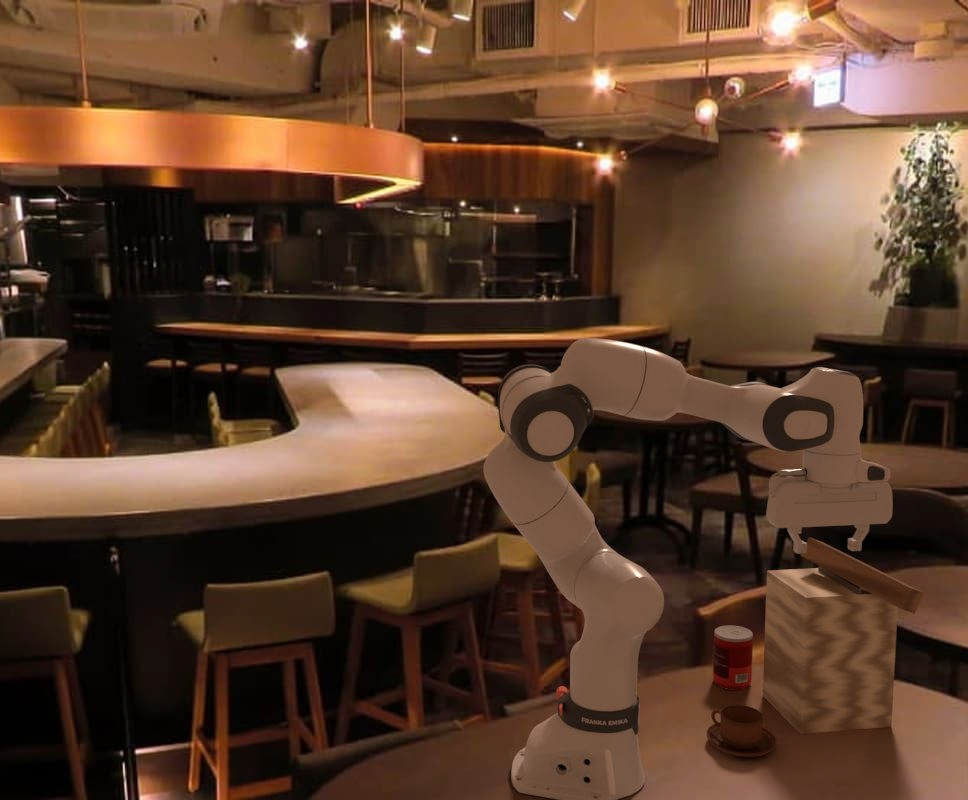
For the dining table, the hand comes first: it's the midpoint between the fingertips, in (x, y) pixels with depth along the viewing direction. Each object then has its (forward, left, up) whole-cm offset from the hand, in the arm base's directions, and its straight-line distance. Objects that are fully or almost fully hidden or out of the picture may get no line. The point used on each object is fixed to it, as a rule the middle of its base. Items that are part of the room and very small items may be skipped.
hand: (827, 551), depth 150 cm
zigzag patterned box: (+7, +25, -39) cm, 47 cm away
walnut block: (+10, +21, -12) cm, 26 cm away
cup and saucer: (-11, +9, -40) cm, 42 cm away
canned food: (-9, +36, -39) cm, 54 cm away
